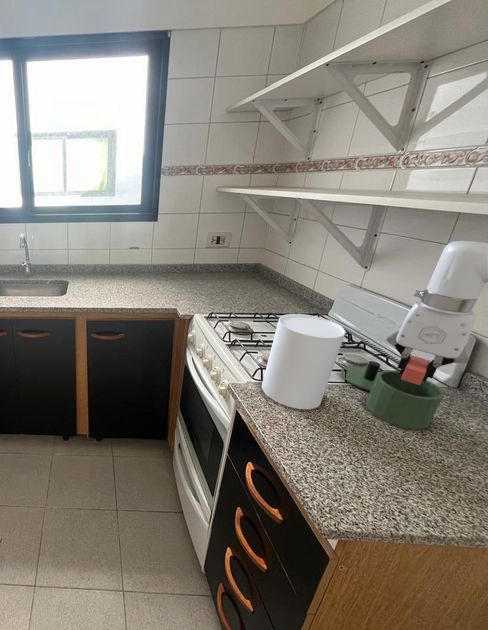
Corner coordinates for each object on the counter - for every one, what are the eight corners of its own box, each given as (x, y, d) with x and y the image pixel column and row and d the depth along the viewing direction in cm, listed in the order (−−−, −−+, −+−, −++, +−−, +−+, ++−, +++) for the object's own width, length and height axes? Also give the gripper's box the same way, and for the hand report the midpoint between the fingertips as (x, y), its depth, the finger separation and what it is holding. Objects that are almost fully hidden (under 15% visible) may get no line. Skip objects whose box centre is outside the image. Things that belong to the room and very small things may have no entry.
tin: (421, 408, 85) (435, 379, 82) (434, 436, 77) (451, 405, 73) (363, 393, 91) (374, 365, 88) (369, 418, 82) (381, 388, 79)
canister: (251, 379, 97) (267, 315, 89) (296, 376, 98) (316, 312, 90) (283, 411, 85) (304, 339, 77) (334, 407, 86) (360, 336, 78)
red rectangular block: (406, 366, 83) (411, 355, 82) (424, 372, 81) (429, 360, 80) (400, 379, 78) (406, 367, 77) (419, 385, 76) (425, 373, 75)
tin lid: (392, 377, 98) (400, 359, 95) (401, 400, 88) (410, 381, 86) (338, 365, 104) (344, 348, 101) (341, 386, 94) (348, 367, 92)
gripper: (392, 295, 75) (364, 367, 83) (508, 318, 64) (463, 398, 72) (398, 288, 80) (371, 356, 87) (507, 307, 69) (465, 384, 76)
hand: (413, 374), depth 79 cm, fingers closed on red rectangular block, 3 cm apart
